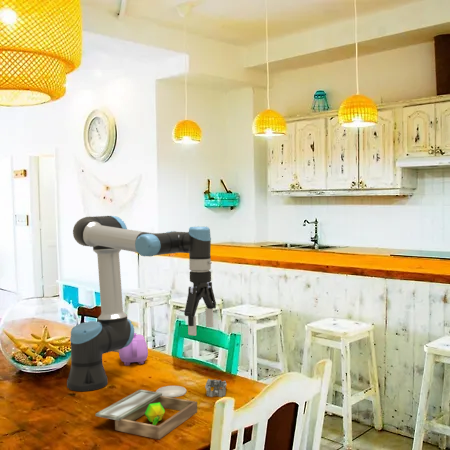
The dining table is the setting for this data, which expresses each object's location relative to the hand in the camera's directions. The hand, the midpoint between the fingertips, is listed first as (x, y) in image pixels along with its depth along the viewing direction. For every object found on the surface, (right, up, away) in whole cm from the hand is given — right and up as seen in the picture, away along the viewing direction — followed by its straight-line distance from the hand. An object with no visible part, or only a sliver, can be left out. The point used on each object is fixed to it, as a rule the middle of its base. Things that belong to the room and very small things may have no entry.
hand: (201, 330), depth 193 cm
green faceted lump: (-14, -26, -19) cm, 35 cm away
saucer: (-11, -24, +8) cm, 28 cm away
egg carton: (+5, -25, +8) cm, 26 cm away
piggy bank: (-32, -23, +48) cm, 62 cm away
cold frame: (-16, -25, -16) cm, 34 cm away
